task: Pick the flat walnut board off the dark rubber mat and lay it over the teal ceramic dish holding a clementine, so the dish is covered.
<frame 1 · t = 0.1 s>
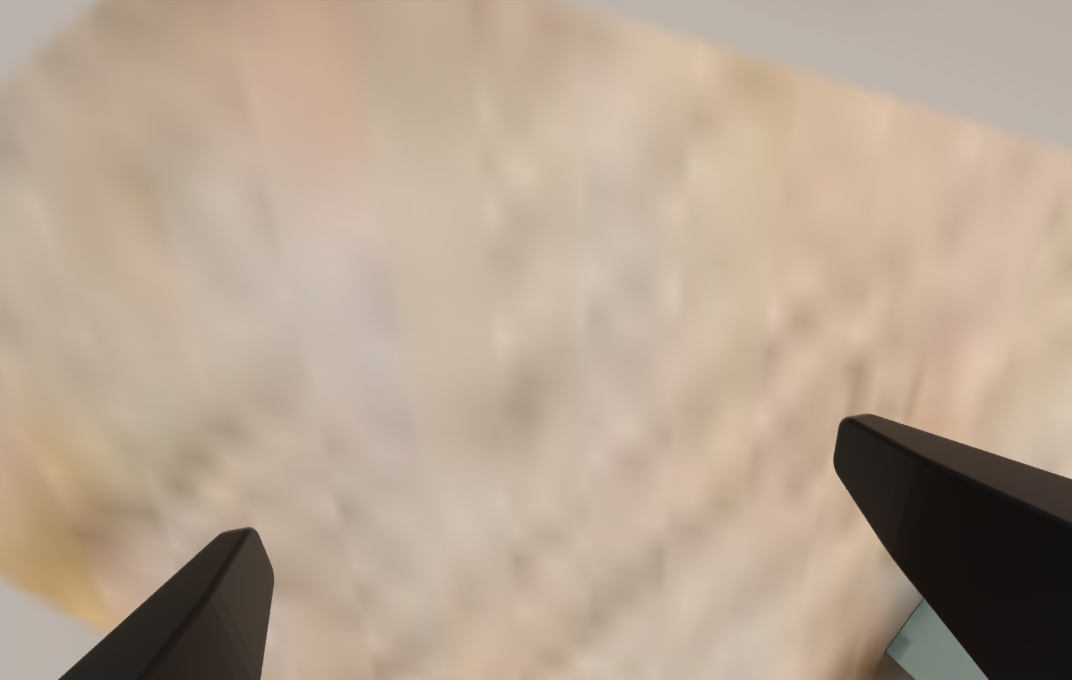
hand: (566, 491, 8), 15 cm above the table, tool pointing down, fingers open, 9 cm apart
dish: (993, 610, 30), on the table
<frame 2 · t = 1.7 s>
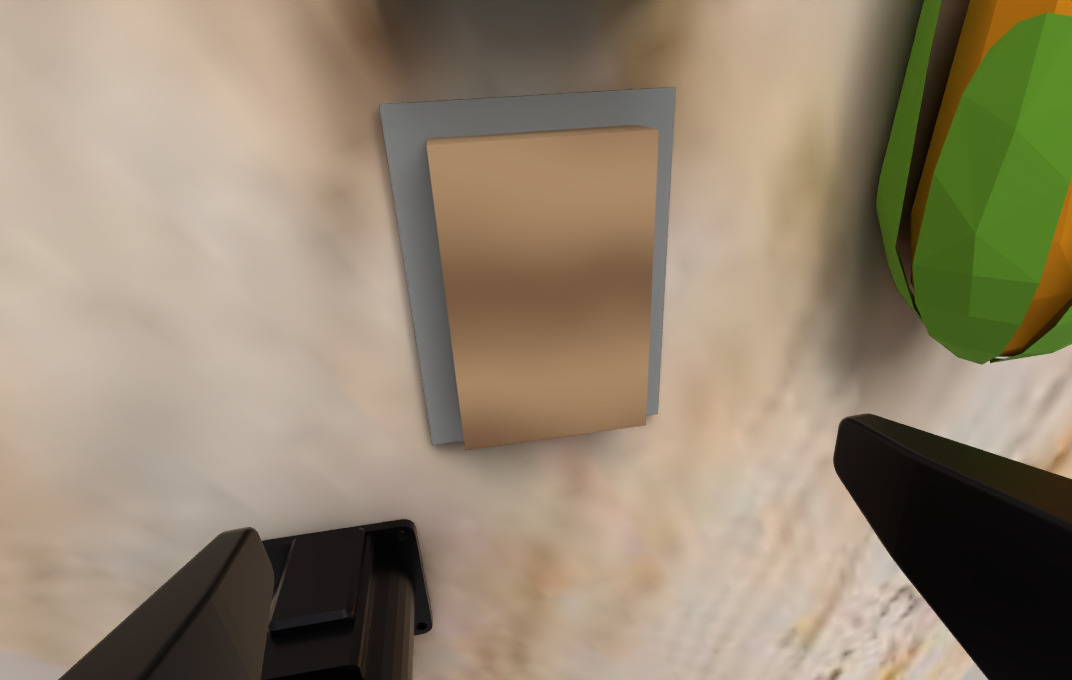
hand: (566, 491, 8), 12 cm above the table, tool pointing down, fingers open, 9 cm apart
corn: (956, 52, 19), on the table
board: (541, 284, 19), point 1 cm above the table, touching mat
mat: (538, 279, 20), on the table
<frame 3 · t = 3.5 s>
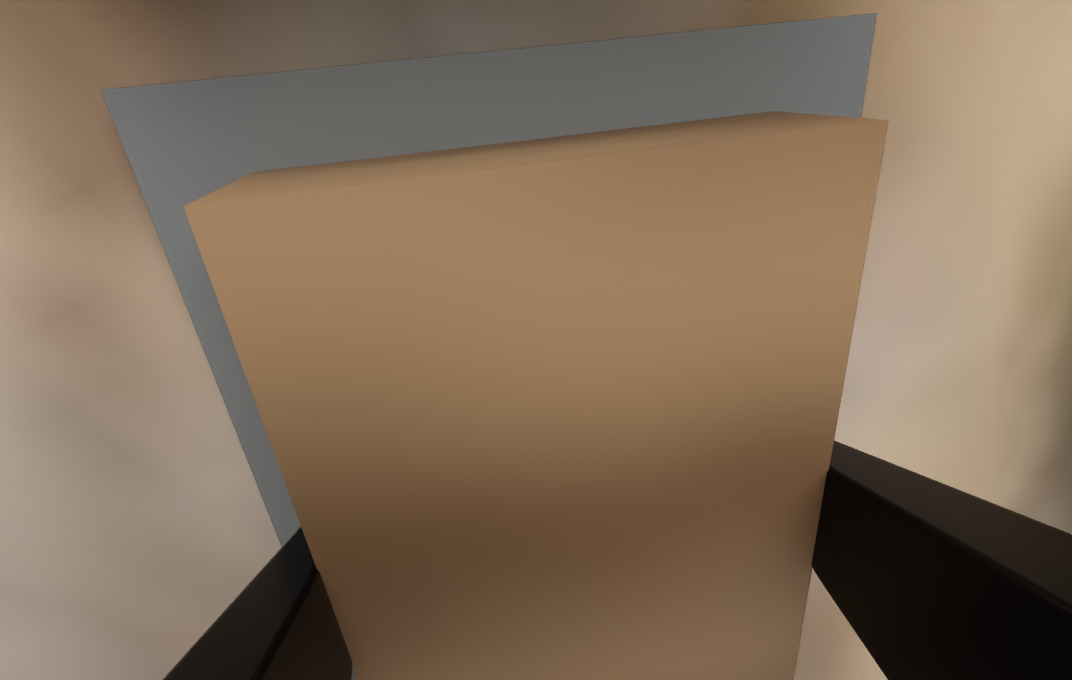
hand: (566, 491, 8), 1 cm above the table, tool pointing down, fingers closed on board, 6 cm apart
board: (558, 465, 9), point 1 cm above the table, touching gripper, mat
mat: (551, 443, 10), on the table
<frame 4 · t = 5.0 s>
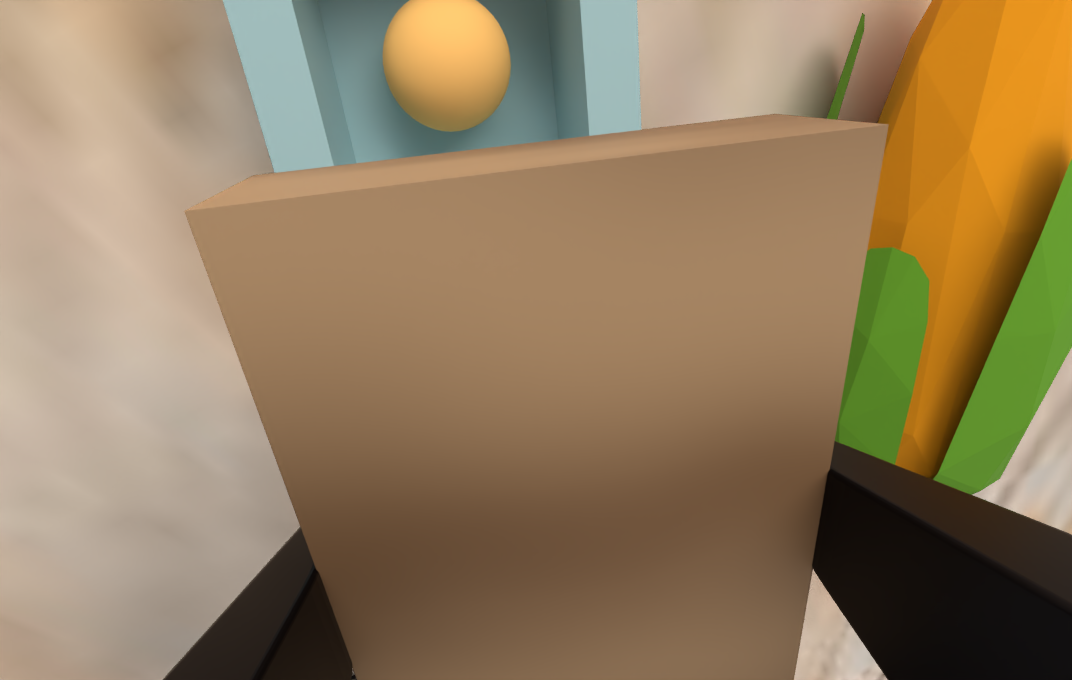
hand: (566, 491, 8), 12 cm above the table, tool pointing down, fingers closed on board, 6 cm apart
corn: (845, 231, 21), on the table
board: (558, 467, 9), point 11 cm above the table, touching gripper
clementine: (446, 67, 16), point 1 cm above the table, touching dish
dish: (445, 69, 16), on the table
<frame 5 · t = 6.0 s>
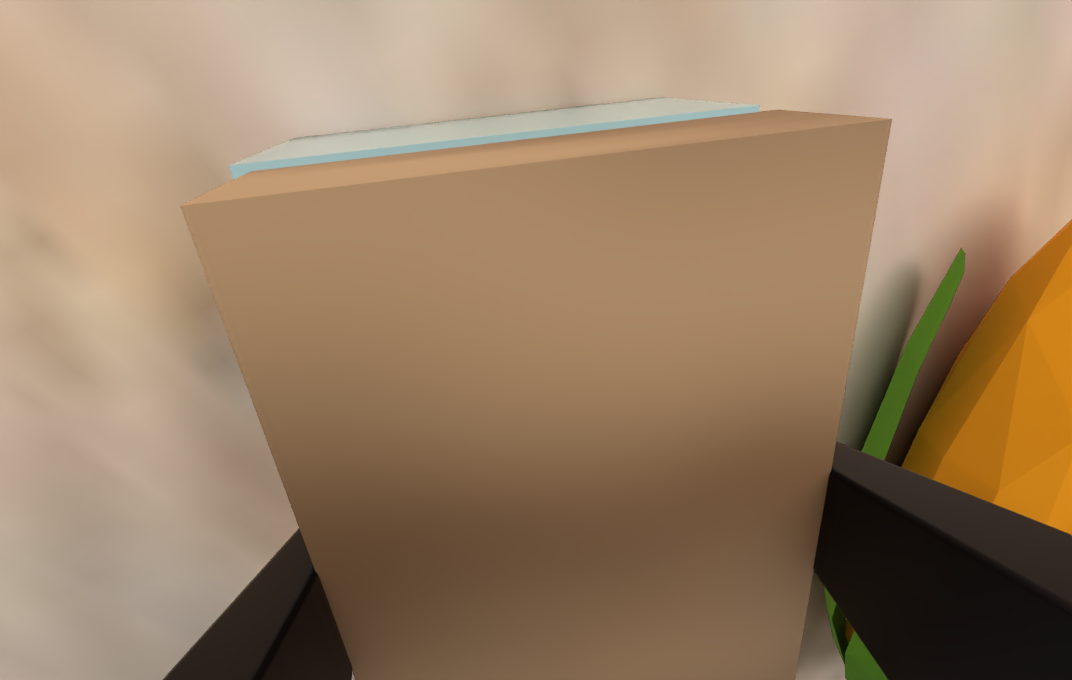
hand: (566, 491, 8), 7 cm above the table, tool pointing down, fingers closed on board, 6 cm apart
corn: (907, 427, 20), on the table
board: (558, 466, 9), point 7 cm above the table, touching gripper
dish: (508, 306, 15), on the table
when the fingers open (6 cm above the table, at t = 6.7 s): board drops 1 cm, resting on dish.
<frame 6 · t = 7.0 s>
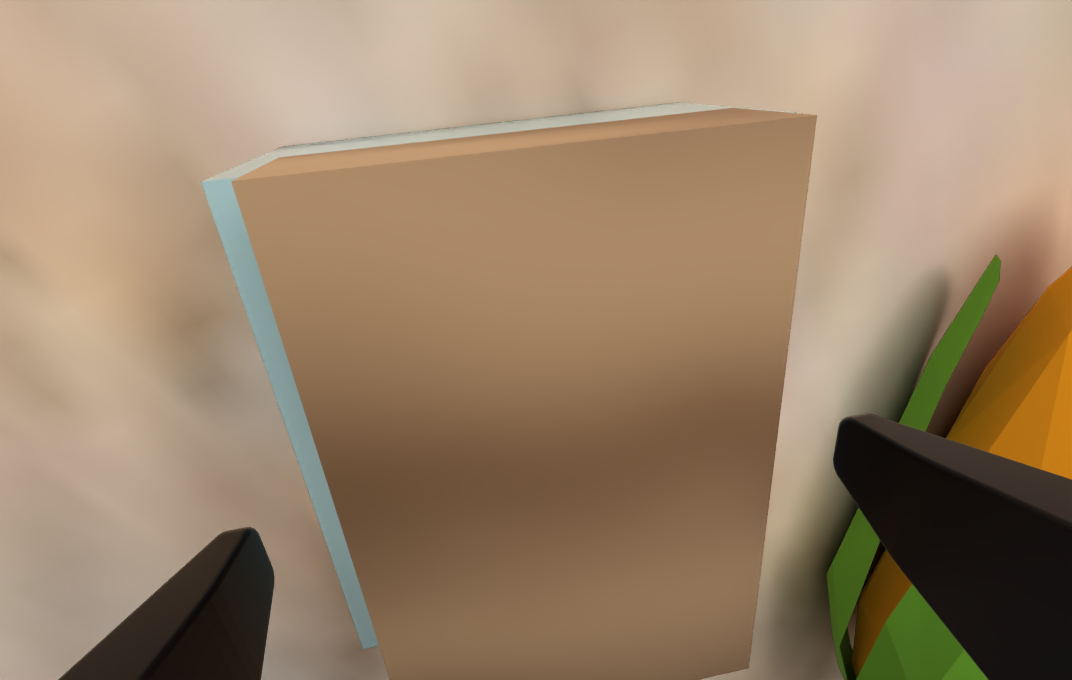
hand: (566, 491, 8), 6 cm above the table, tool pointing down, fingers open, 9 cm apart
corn: (923, 444, 19), on the table
board: (545, 424, 10), point 4 cm above the table, touching dish
dish: (512, 325, 14), on the table
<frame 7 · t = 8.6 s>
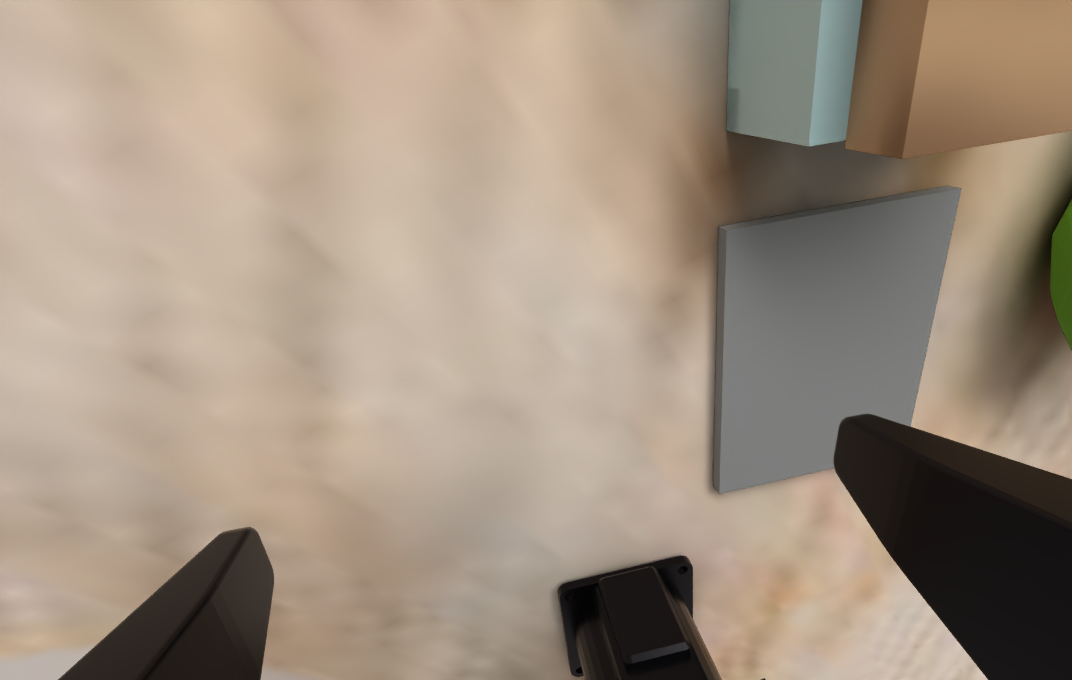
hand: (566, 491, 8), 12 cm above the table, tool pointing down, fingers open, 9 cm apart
mat: (818, 350, 23), on the table
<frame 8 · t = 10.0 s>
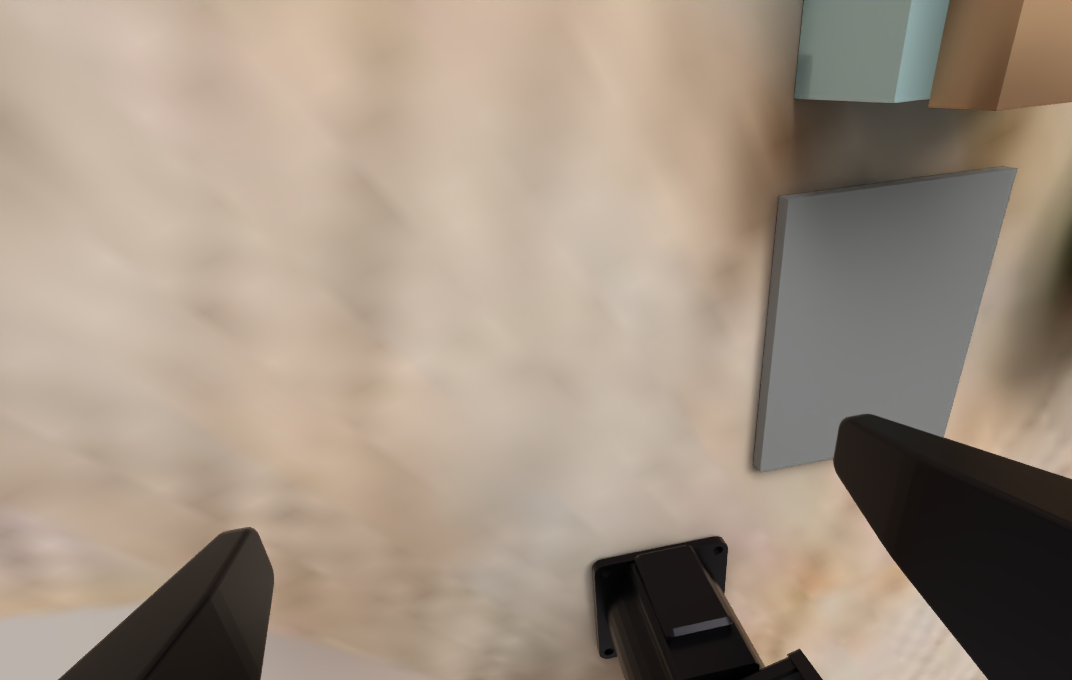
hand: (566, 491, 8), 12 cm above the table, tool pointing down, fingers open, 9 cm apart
mat: (866, 328, 23), on the table
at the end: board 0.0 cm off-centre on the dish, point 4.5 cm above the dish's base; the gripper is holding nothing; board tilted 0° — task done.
